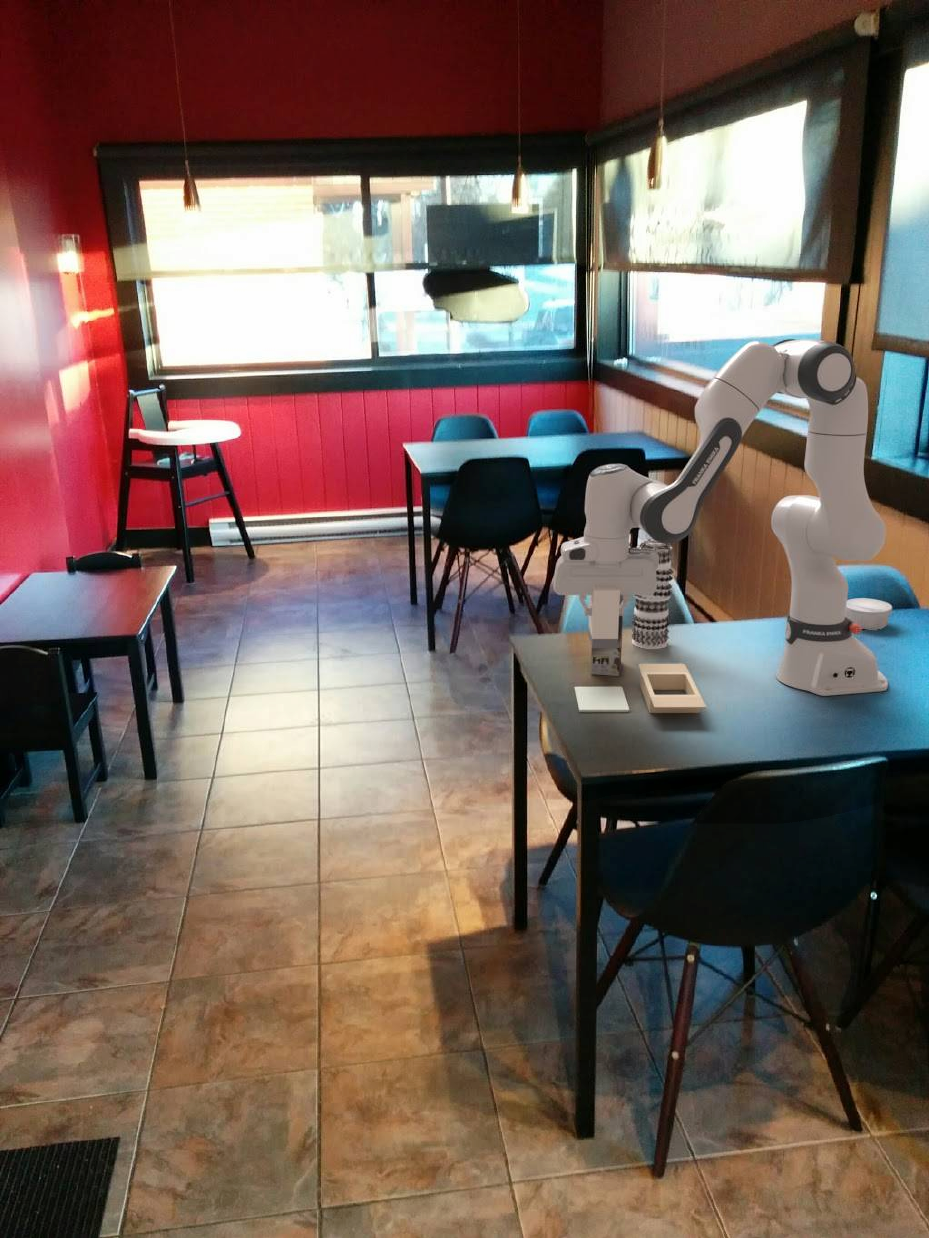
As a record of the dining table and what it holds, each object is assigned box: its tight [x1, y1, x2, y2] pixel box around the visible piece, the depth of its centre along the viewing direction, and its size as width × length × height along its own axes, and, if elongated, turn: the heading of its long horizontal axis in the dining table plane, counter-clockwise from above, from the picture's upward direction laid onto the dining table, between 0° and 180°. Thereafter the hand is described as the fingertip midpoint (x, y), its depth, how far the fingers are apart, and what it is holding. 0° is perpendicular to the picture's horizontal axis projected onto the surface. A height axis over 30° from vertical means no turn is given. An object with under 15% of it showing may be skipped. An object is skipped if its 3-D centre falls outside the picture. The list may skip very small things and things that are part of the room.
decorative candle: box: [631, 538, 674, 650], centre depth 233 cm, size 9×9×25 cm
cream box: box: [588, 587, 620, 649], centre depth 200 cm, size 5×8×12 cm, turn 178°
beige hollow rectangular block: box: [637, 663, 707, 714], centre depth 205 cm, size 10×23×4 cm, turn 179°
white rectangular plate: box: [573, 686, 630, 713], centre depth 206 cm, size 10×12×1 cm
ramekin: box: [845, 597, 893, 631], centre depth 247 cm, size 11×11×5 cm
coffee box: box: [590, 595, 624, 677], centre depth 220 cm, size 9×6×16 cm
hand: (603, 615), depth 200 cm, fingers closed on cream box, 5 cm apart
